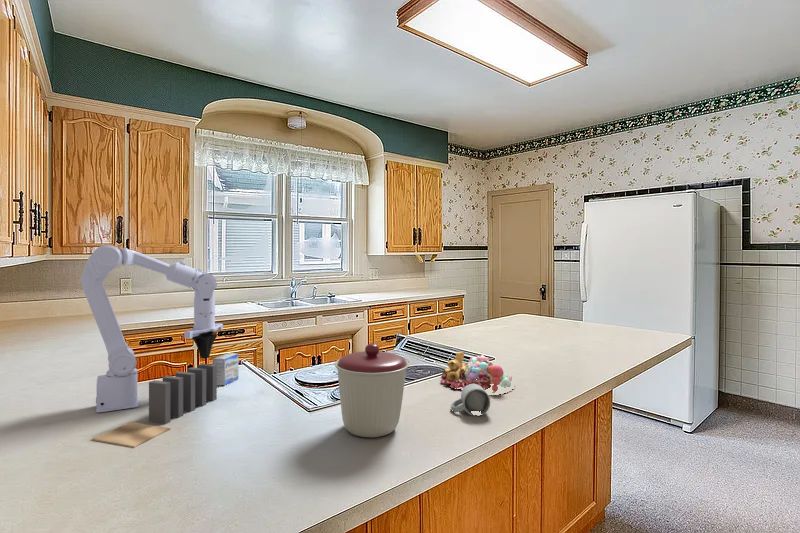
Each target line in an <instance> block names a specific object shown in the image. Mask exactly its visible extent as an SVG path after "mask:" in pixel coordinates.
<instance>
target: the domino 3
mask: <svg viewBox="0 0 800 533" xmlns="http://www.w3.org/2000/svg"><path fill="white" fill-rule="evenodd" d="M174 377H183V412H188V413H192V412H194V411H196V406H195V373H190V372H187V371H177V372H175V373H174Z"/></svg>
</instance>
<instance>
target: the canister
mask: <svg viewBox="0 0 800 533" xmlns="http://www.w3.org/2000/svg"><path fill="white" fill-rule="evenodd" d="M409 366H410V363H409V361H408V360H407V359H405V358H403V357H402V356H400V355H398V354H395V353H392V352H387V351H380V346H379V345H377V343H368V344H366V346H365V348H364V351H357V352H350V353H348V354H344V355H343V356H342V357H340V358H339V359H337V360H336V361H335V362H334V368H336V369H337V379H338V380H337V381H338V391H339V400H340V409H341V416H342V418H341V419H342V422H343V425H344V427H345V429H346V430H347V431H348V432H349V433H351V434H352V435H354V436H357V437H361V438H379V437H384V436H386V435H387V436H388V435H389V434H391V433H392V432H394V431H395V430H396V428H397V426H398V424H399V421H400V417H401V411H402V405H403V404H402V403H403V398H404V397H403V396H404V388H405V382H406V381H405V380H406V372H407V369H408V368H409Z"/></svg>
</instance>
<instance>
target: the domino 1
mask: <svg viewBox="0 0 800 533" xmlns="http://www.w3.org/2000/svg"><path fill="white" fill-rule="evenodd" d="M148 422H149V423H154V424H155V423H156V424H160V425H161V424H162V425H167V424H168V423H171V417H170V382H163V380H162V381H161V380H150V381H149V382H148Z"/></svg>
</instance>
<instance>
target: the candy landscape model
mask: <svg viewBox="0 0 800 533" xmlns="http://www.w3.org/2000/svg"><path fill="white" fill-rule="evenodd" d="M464 358H465V353H464V352H462V351H457V352H456V354H455V358H452V359H451V360H449V361H448V362H447V364H446V366H447V367H448V368H447V367H446V368H445V369H444V370H443V371H442V373H441V375H440V381H439V382H440V383H441V382H442V386H447V385H449V384H451V385H450V386H449V387H451V388H450V389H452V388H456V389H455V390H457V388H460V389H464V387H466V386H467V385H469V384H477V385H480V386H481V387H482V388H483V389H484V390H486V389H488V388H490V387H491V385H490V384H494V385H493V386H492V390H493V392H492V393H495V392H496V391H497V390H498V386H497V385H499V386H501V387H504V388H506V387H510V386H511V381H512V379H513V376H512V375H511V376H508V375H507V374H506V373H505V371H504V370H503V367H501V366H500V365H494V364H493V363H492V362H491V361H490V359H489V357H488V356H487V357H486V356H485V355H484V354H481V355H480V356H479V355H478V356H475V355H474V356H473V357H472V356H470V358H469V361H468V362H466V361H464V362H463V360H464ZM476 379H477V380H476ZM512 382H513V381H512Z"/></svg>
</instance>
